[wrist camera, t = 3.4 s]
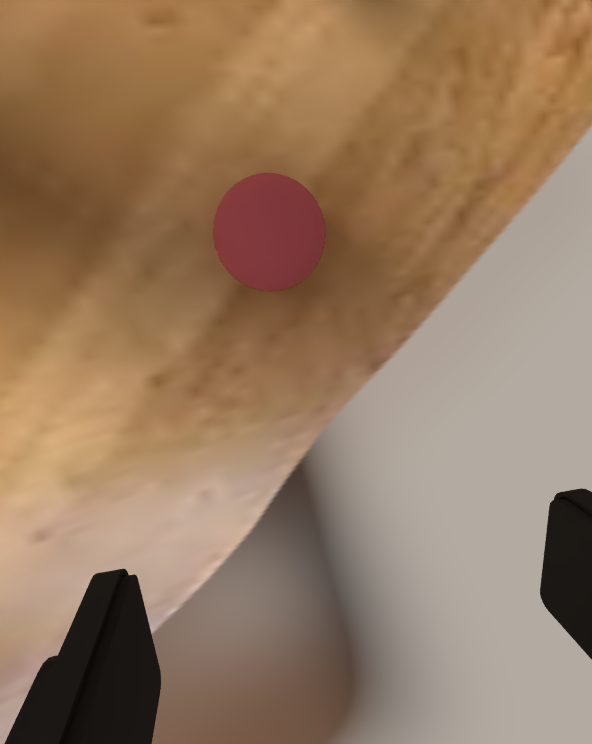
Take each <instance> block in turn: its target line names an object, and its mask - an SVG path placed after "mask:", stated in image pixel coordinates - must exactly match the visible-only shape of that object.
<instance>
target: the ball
mask: <svg viewBox="0 0 592 744" xmlns="http://www.w3.org/2000/svg"><path fill="white" fill-rule="evenodd" d="M213 234H214V243H215V247H216V250H217V253H218V256H219V258H220V260H221V262H222V263H223V265H224V267H225V268H226V269H227V270H228V272H229V273H230V274H231V275H232V276H233V277H234V278H236V279H237V280H238V281H240V282H241V283H243V284H245V285H246V286H249V287H251V288H254V289H258V290H262V291H279V290H284V289H287V288H290V287H292V286H294V285H296V284H298V283H299V282H301V281H302V280H304V279H305V278H306V277H307V276H308V275H309V274H310V273H311V272H312V270H313V269H314V268H315V266H316V265H317V263H318V261H319V259H320V257H321V254H322V251H323V248H324V243H325V224H324V219H323V215H322V212H321V210H320V207H319V205H318V203H317V201H316V200H315V198H314V197H313V196H312V194H311V193H310V192H309V191H308V190H307V189H306V188H305V187H304V186H303V185H301V184H300V183H298V182H297V181H295V180H293V179H291V178H289V177H286V176H283V175H280V174H274V173H262V174H256V175H252V176H249V177H247V178H245V179H243V180H241V181H240V182H238V183H237V184H235V185H234V186H233V187H232V188H231V189H230V190H229V191H228V192H227V193H226V194H225V196H224V197H223V199H222V200H221V202H220V204H219V207H218V209H217V212H216V215H215V219H214V228H213Z"/></svg>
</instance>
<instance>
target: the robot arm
mask: <svg viewBox="0 0 592 744" xmlns="http://www.w3.org/2000/svg"><path fill="white" fill-rule="evenodd" d="M540 595H541V599H542V601H543V603H544V605H545V607H546V608H547V609H548V611H549V612H550V613H551V614H552V615H553V616H554V618H555V619H556V620H557V621H558V622H559V623H560V624H561V625H562V627H563V628H564V629H565V630H566V631H567V632H568V633H569V634H570V635H571V637H572V638H573V639H574V640H575V641H576V642H577V643H578V644H579V646H580V647H581V648H582V649H583V650H584V651H585V652H586V654H587V655H588V656H589V657H590V658H591V659H592V492H591V491H588V490H586V489H576V490H570V491H565V492H560V493H557V494H556V495H555V497H554V500H553V501H552V502H551V503H550V508H549V516H548V525H547V533H546V542H545V551H544V560H543V569H542V578H541V588H540ZM160 689H161V674H160V668H159V663H158V659H157V655H156V651H155V647H154V643H153V639H152V635H151V631H150V627H149V622H148V618H147V614H146V610H145V606H144V602H143V598H142V594H141V590H140V586H139V582H138V578H137V576H136V575H128V572H127V571H126V569H119V570H114V571H108V572H102V573H97V574H95V575H94V576H93V577H92V579H91V581H90V584H89V586H88V588H87V590H86V593H85V595H84V597H83V600H82V602H81V604H80V606H79V609H78V611H77V613H76V615H75V618H74V620H73V622H72V625H71V627H70V629H69V631H68V634H67V636H66V638H65V641H64V643H63V645H62V647H61V650H60V652H59V654H58V656H53V657H50V658H48V659H47V660H46V661H45V662H44V663H43V665H42V666H41V668H40V670H39V672H38V673H37V676H36V678H35V680H34V682H33V684H32V686H31V688H30V691H29V693H28V695H27V697H26V699H25V701H24V703H23V705H22V708H21V710H20V712H19V714H18V716H17V718H16V720H15V723H14V725H13V727H12V729H11V731H10V733H9V735H8V737H7V740H6V742H5V744H151V743H152V737H153V732H154V726H155V719H156V714H157V708H158V701H159V696H160Z"/></svg>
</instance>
